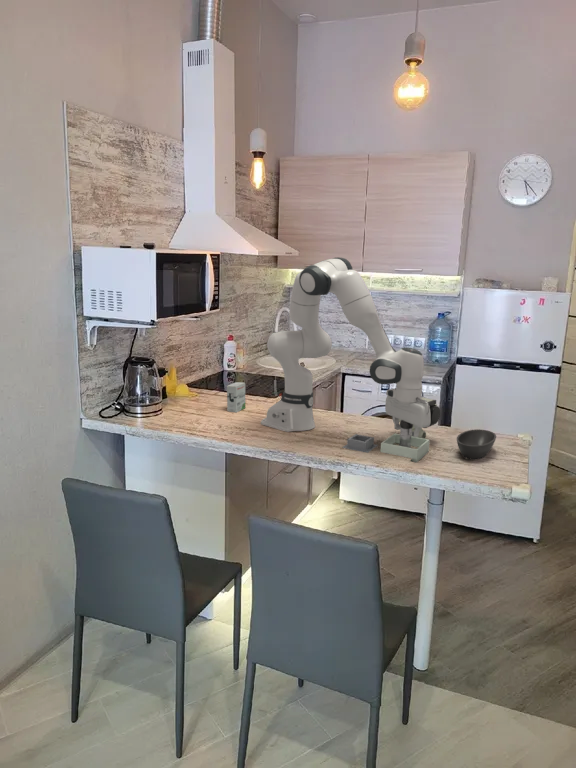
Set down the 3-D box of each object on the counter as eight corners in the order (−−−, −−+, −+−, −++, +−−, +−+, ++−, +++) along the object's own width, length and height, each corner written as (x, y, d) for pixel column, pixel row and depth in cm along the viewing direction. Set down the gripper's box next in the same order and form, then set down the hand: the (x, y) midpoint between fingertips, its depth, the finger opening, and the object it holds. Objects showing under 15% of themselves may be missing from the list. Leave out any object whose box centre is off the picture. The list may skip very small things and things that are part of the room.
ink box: (236, 406, 263) (236, 381, 260) (246, 408, 261) (246, 382, 258) (226, 411, 255) (226, 385, 253) (236, 412, 253) (236, 386, 251)
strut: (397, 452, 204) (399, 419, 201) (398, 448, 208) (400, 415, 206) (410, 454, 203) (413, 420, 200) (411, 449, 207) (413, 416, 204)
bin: (380, 455, 204) (381, 442, 203) (393, 444, 215) (394, 433, 214) (416, 462, 197) (417, 449, 196) (428, 451, 208) (429, 439, 207)
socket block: (341, 450, 207) (342, 439, 206) (353, 443, 216) (353, 432, 215) (367, 455, 202) (368, 444, 202) (378, 448, 211) (379, 437, 210)
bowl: (500, 449, 213) (502, 433, 211) (482, 466, 195) (484, 449, 194) (468, 442, 219) (469, 427, 218) (447, 458, 202) (449, 441, 200)
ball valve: (440, 441, 220) (443, 396, 216) (429, 446, 214) (432, 400, 210) (398, 431, 231) (401, 388, 227) (387, 435, 225) (390, 391, 221)
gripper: (436, 400, 194) (433, 440, 197) (396, 387, 211) (394, 424, 214) (422, 402, 191) (419, 442, 194) (383, 389, 208) (381, 426, 211)
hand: (406, 432), depth 204 cm, fingers open, 8 cm apart
